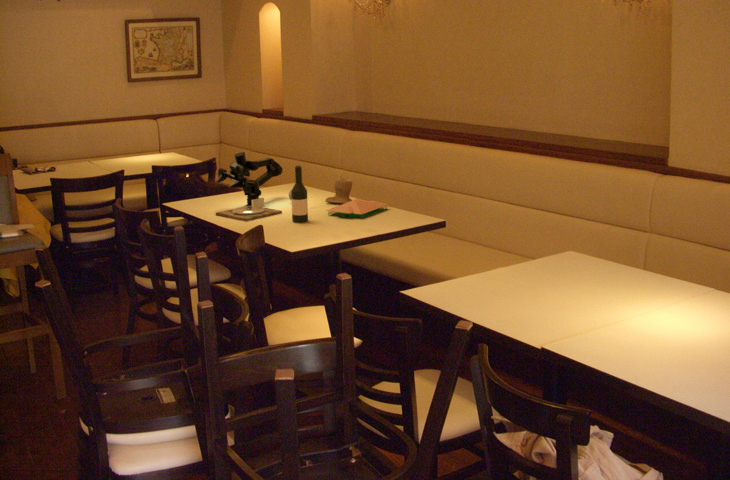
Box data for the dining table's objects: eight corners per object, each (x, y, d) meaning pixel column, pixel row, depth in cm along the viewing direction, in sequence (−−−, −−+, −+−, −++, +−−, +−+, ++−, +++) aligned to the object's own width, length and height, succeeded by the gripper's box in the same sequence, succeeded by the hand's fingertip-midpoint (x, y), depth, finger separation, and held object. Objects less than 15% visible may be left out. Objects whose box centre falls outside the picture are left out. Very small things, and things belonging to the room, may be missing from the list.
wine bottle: (292, 220, 399) (290, 164, 391) (308, 219, 399) (306, 164, 392) (292, 223, 391) (290, 167, 383) (308, 222, 391) (306, 166, 384)
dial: (253, 206, 428) (252, 196, 426) (274, 210, 416) (273, 199, 415) (223, 212, 412) (222, 202, 410) (244, 216, 400) (243, 205, 399)
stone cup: (355, 202, 445) (355, 177, 441) (348, 205, 434) (347, 180, 431) (332, 200, 450) (332, 176, 447) (324, 204, 440) (324, 179, 436)
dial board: (251, 207, 432) (251, 204, 432) (281, 213, 416) (281, 210, 415) (215, 215, 413) (215, 212, 413) (246, 221, 396) (246, 218, 396)
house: (323, 217, 407) (323, 202, 405) (354, 206, 434) (354, 192, 432) (359, 221, 395) (358, 206, 393) (388, 209, 423) (388, 195, 421)
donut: (302, 201, 449) (302, 185, 447) (305, 202, 446) (304, 185, 444) (287, 203, 444) (287, 186, 442) (290, 204, 442) (289, 187, 439)
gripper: (226, 155, 423) (209, 166, 411) (253, 165, 416) (237, 177, 405) (227, 172, 429) (210, 183, 418) (253, 182, 423) (237, 194, 411)
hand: (223, 184), depth 413 cm, fingers open, 9 cm apart
